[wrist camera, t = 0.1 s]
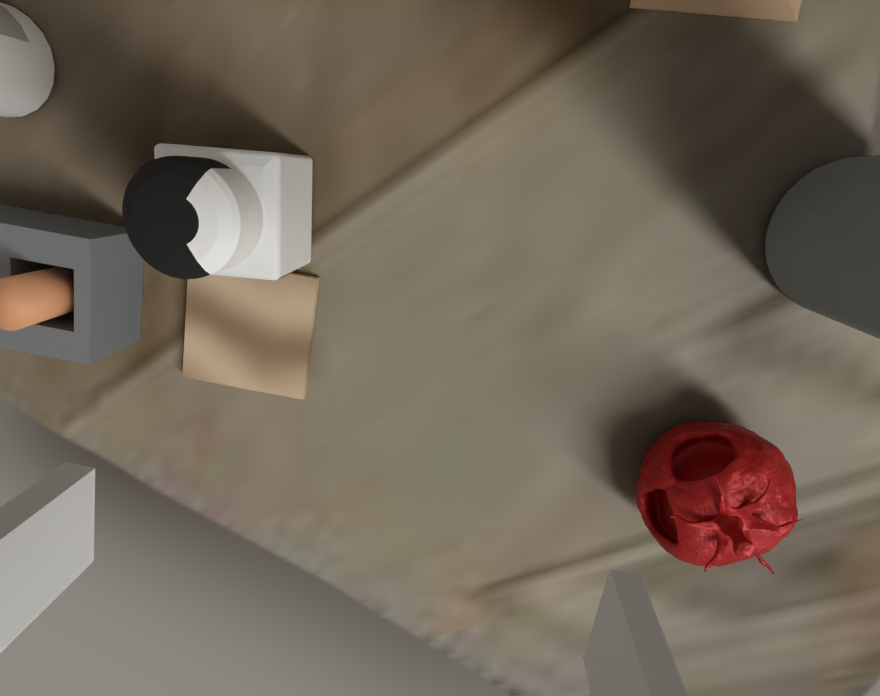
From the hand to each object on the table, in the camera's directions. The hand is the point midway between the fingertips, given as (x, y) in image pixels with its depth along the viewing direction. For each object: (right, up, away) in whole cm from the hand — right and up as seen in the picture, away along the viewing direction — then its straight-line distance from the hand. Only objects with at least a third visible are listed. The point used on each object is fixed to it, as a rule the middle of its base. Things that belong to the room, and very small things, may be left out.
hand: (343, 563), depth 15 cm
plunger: (-22, +9, +24) cm, 34 cm away
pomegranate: (+21, -3, +29) cm, 36 cm away
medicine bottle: (-10, +15, +26) cm, 31 cm away
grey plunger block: (-25, +11, +28) cm, 39 cm away
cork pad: (-11, +7, +28) cm, 31 cm away
